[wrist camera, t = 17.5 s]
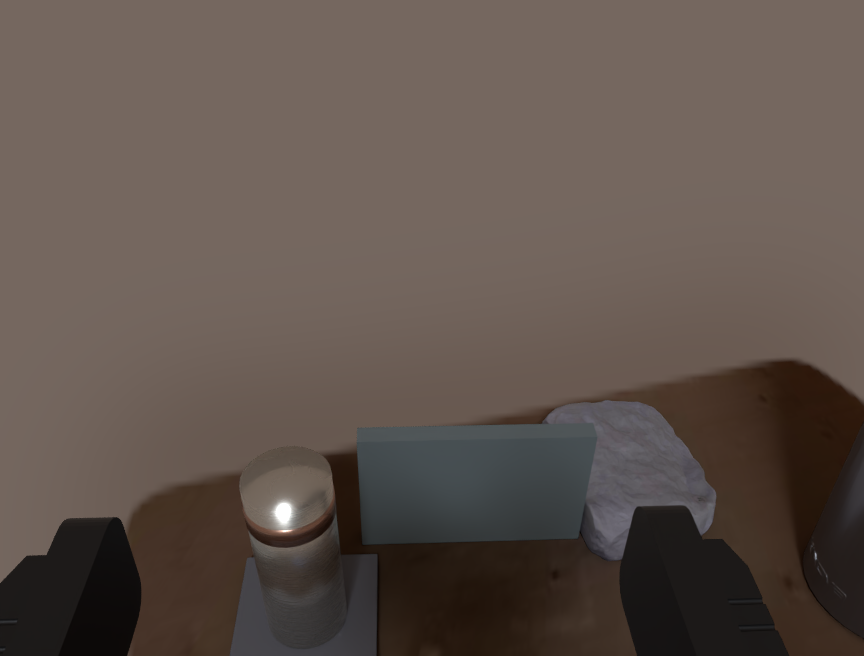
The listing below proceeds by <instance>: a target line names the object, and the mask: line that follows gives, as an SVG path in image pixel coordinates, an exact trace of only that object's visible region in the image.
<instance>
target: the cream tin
mask: <svg viewBox="0 0 864 656" xmlns="http://www.w3.org/2000/svg"><path fill="white" fill-rule="evenodd" d="M239 489H240V493H241V498H242V508H243V512H244V517H245V522H246V526H247V529H248V531H249V536H250V540H251V545H252V550H253V554H254V559H255V564H256V568H257V573H258V578H259V582H260V587H261V592H262V597H263V601H264V606H265V611H266V615H267V620H268V625H269V629H270V631H271V633H272V635H273V636H274V637H275V639H276V640H278V641H279V642H280V643H282V644H283V645H285V646H287V647H290V648H294V649H310V648H315V647H318V646H320V645H323V644H325V643H326V642H328V641H330V640H331V639H332V638H333V637H334V636H335V635H336V634H337V633H338V632H339V631H340V630H341V628H342V626H343V624H344V622H345V619H346V615H347V605H346V596H345V587H344V578H343V569H342V561H341V552H340V543H339V534H338V525H337V516H336V499H335V490H334V485H333V481H332V472H331V468H330V465H329V463H328V461H327V460H326V459H325V458H324V457H323V456H322V455H321V454H319V453H318V452H316V451H314V450H311V449H308V448H304V447H295V446H294V447H293V446H292V447H291V446H290V447H281V448H277V449H273V450H270V451H268V452H265V453H263V454H262V455H260V456H258V457H257V458H255V459H254V460H253V461H251V462H250V463H249V464H248V466H247V467H246V468H245V469H244V471H243V473H242V475H241V478H240V482H239Z"/></svg>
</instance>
